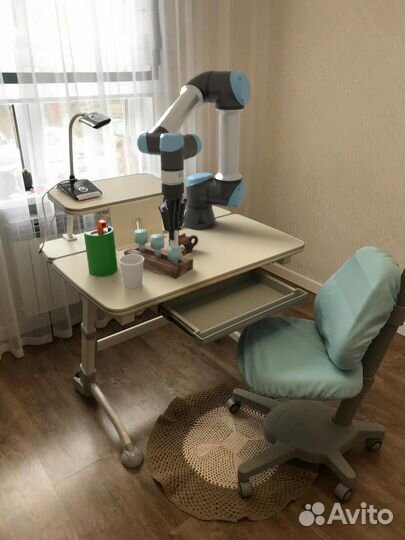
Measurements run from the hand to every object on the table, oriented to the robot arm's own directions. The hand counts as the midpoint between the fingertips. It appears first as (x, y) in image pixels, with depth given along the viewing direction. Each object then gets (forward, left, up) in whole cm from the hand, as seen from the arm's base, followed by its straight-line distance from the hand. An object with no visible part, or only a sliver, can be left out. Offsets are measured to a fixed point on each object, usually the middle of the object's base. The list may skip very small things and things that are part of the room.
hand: (174, 247), depth 154 cm
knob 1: (0, -16, -6) cm, 17 cm away
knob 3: (0, 0, -8) cm, 8 cm away
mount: (0, -8, -9) cm, 12 cm away
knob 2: (0, -8, -6) cm, 10 cm away
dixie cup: (+17, -4, -9) cm, 20 cm away
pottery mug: (-16, -8, -10) cm, 20 cm away
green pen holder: (+15, -20, -9) cm, 27 cm away
